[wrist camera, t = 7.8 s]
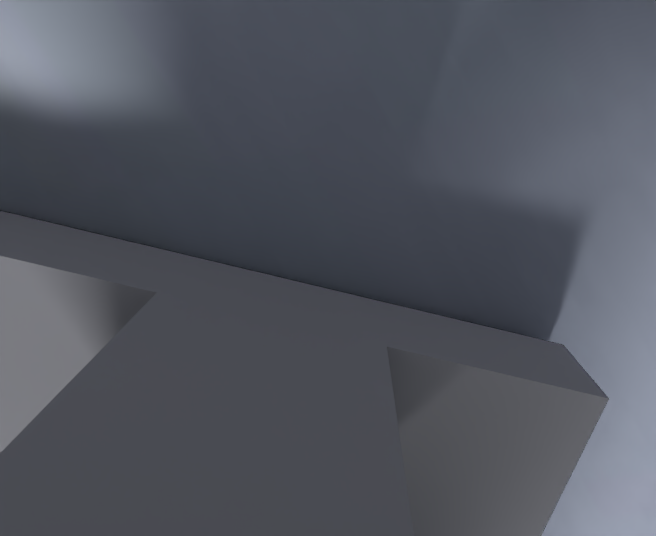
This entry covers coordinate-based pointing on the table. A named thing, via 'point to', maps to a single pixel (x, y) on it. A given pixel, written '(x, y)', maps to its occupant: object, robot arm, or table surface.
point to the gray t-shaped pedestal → (263, 403)
